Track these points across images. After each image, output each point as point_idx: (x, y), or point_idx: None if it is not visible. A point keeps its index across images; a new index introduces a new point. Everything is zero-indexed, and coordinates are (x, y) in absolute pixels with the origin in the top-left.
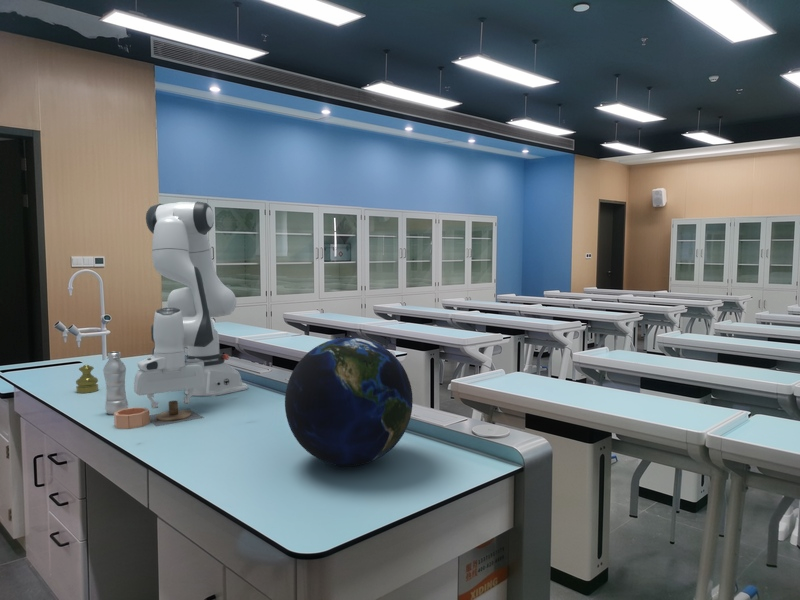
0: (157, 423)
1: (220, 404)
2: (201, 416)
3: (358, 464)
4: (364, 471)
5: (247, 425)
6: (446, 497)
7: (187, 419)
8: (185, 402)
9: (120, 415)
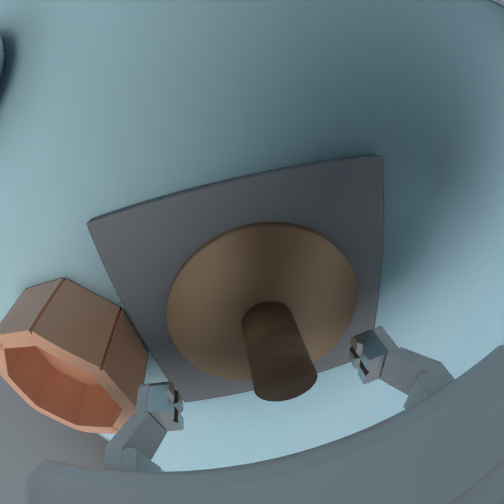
0: (184, 380)
1: (484, 134)
2: None
3: None
4: None
5: (405, 399)
6: None
7: None
8: (354, 364)
9: (48, 415)
